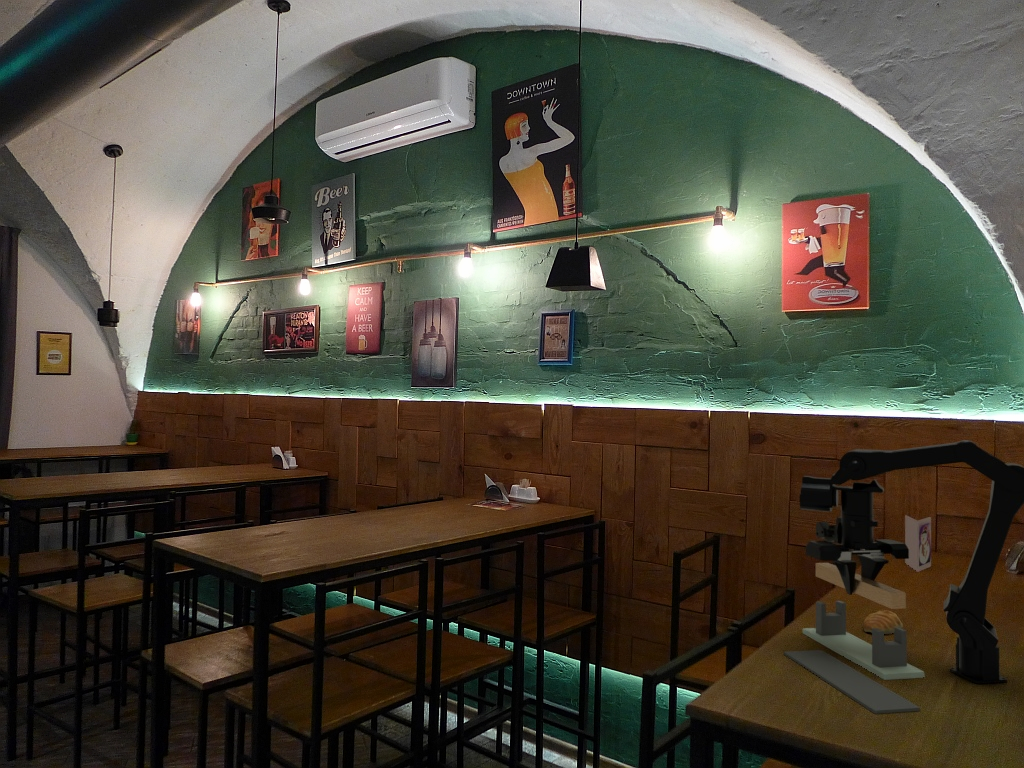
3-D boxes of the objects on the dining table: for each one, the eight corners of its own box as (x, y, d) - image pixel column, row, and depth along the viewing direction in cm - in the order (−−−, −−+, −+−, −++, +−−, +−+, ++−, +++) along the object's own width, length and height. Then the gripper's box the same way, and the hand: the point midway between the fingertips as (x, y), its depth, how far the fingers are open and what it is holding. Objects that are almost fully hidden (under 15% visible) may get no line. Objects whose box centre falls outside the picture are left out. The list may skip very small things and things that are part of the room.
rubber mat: (920, 710, 116) (920, 707, 116) (875, 713, 114) (875, 710, 114) (821, 652, 142) (821, 649, 142) (783, 654, 141) (783, 651, 141)
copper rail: (905, 608, 129) (905, 592, 129) (891, 608, 129) (891, 593, 129) (827, 575, 153) (827, 562, 153) (815, 576, 153) (815, 562, 153)
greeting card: (920, 572, 211) (920, 521, 211) (893, 568, 217) (893, 517, 217) (934, 566, 219) (934, 517, 219) (907, 562, 224) (907, 514, 225)
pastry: (887, 639, 151) (887, 621, 151) (855, 632, 156) (854, 614, 156) (904, 630, 158) (904, 612, 158) (872, 623, 163) (872, 606, 163)
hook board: (924, 677, 130) (924, 635, 130) (884, 679, 129) (884, 637, 129) (836, 631, 155) (836, 596, 156) (802, 633, 154) (802, 597, 154)
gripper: (873, 507, 151) (874, 582, 150) (790, 508, 148) (790, 584, 148) (911, 515, 140) (911, 596, 139) (821, 517, 137) (821, 599, 137)
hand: (857, 594), depth 141 cm, fingers closed on copper rail, 3 cm apart
